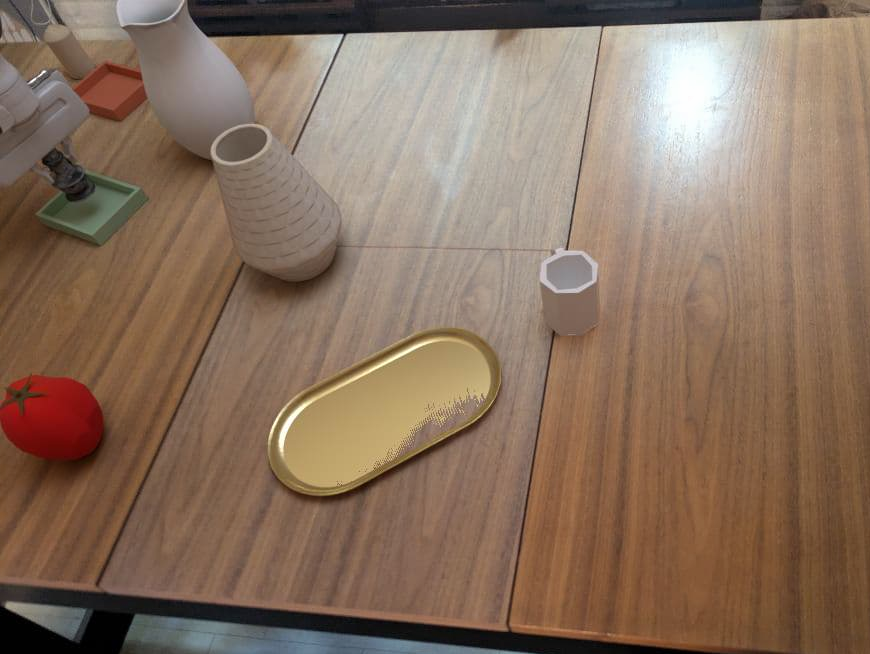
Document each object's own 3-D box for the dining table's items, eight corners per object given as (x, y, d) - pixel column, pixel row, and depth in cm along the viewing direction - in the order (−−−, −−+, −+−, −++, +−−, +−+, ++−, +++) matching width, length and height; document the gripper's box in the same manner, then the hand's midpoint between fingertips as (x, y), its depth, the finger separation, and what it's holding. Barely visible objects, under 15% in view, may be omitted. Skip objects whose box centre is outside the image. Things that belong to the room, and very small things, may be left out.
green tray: (44, 225, 129) (34, 214, 127) (93, 179, 134) (84, 169, 132) (101, 246, 125) (91, 235, 122) (149, 198, 130) (140, 187, 128)
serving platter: (526, 399, 100) (525, 393, 99) (298, 525, 93) (293, 520, 92) (466, 313, 109) (464, 307, 108) (254, 422, 102) (249, 417, 101)
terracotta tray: (70, 106, 148) (62, 95, 145) (112, 71, 153) (105, 60, 151) (120, 121, 143) (113, 110, 141) (162, 84, 149) (155, 73, 146)
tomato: (68, 492, 99) (-3, 448, 88) (29, 442, 104) (-42, 395, 93) (138, 436, 103) (80, 387, 92) (98, 391, 108) (38, 339, 97)
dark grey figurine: (63, 187, 127) (14, 131, 116) (95, 176, 127) (50, 119, 117) (65, 207, 124) (15, 151, 113) (98, 196, 124) (52, 139, 114)
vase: (232, 285, 117) (154, 174, 97) (285, 211, 125) (223, 96, 105) (322, 307, 112) (260, 197, 93) (372, 230, 120) (324, 113, 101)
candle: (75, 82, 152) (43, 38, 143) (66, 72, 154) (34, 28, 146) (99, 70, 153) (69, 26, 145) (90, 60, 156) (59, 16, 147)
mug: (608, 328, 105) (607, 284, 97) (552, 343, 105) (547, 301, 96) (583, 270, 111) (580, 225, 103) (531, 285, 111) (524, 240, 102)
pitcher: (281, 144, 135) (210, -3, 111) (199, 184, 131) (106, 41, 107) (236, 86, 146) (162, -59, 122) (159, 121, 142) (68, -21, 118)
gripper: (39, 58, 115) (92, 129, 127) (-61, 136, 106) (6, 206, 118) (66, 65, 113) (117, 137, 125) (-34, 146, 105) (32, 215, 116)
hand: (63, 171), depth 122 cm, fingers closed on dark grey figurine, 3 cm apart
